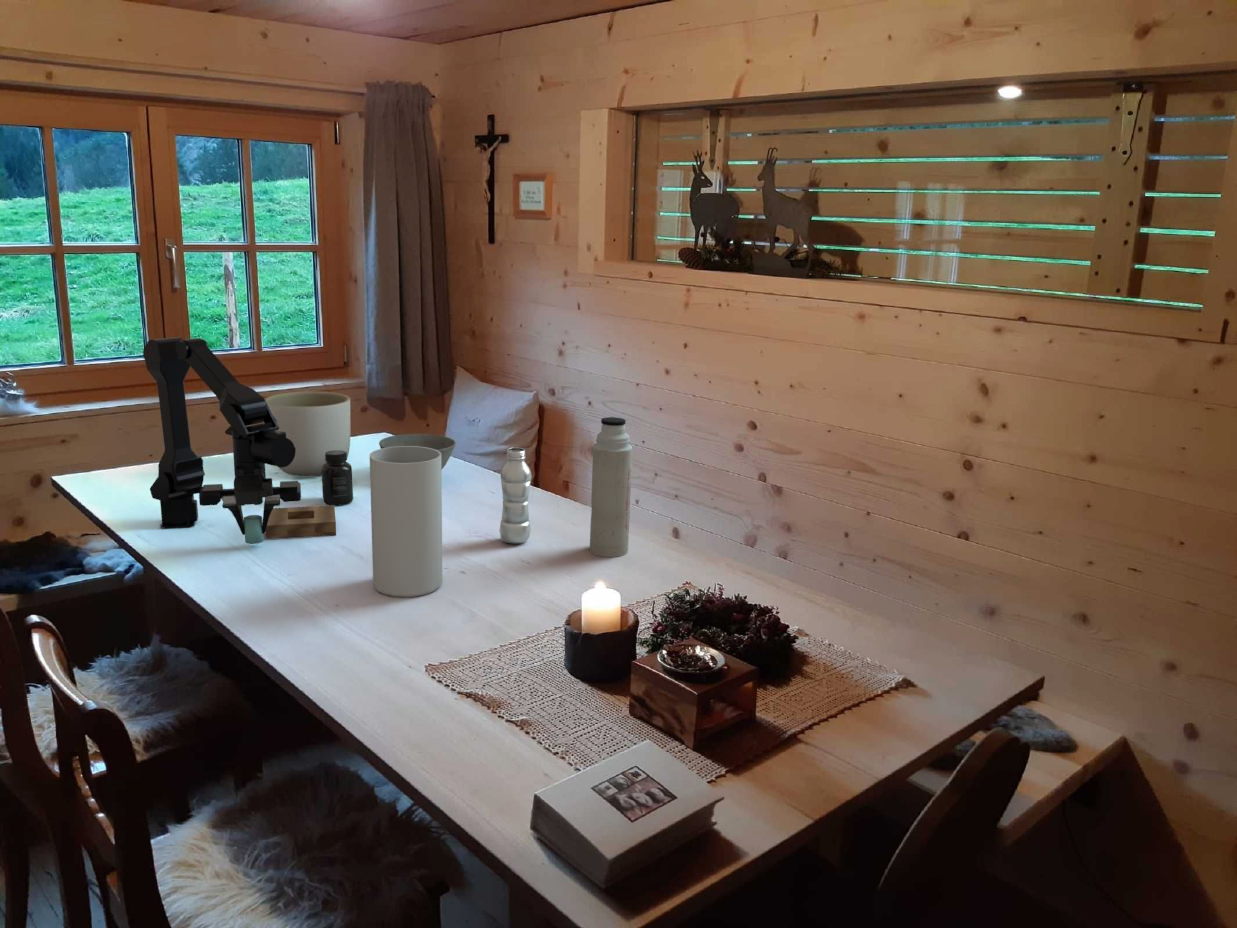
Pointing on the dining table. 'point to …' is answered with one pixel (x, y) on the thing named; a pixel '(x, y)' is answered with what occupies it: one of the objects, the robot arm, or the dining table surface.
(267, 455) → the robot arm
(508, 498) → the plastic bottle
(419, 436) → the bowl
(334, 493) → the supplement bottle
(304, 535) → the bore block
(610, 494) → the thermos bottle
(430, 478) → the cylinder vase
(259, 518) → the pin
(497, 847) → the dining table surface
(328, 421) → the planter
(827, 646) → the dining table surface
